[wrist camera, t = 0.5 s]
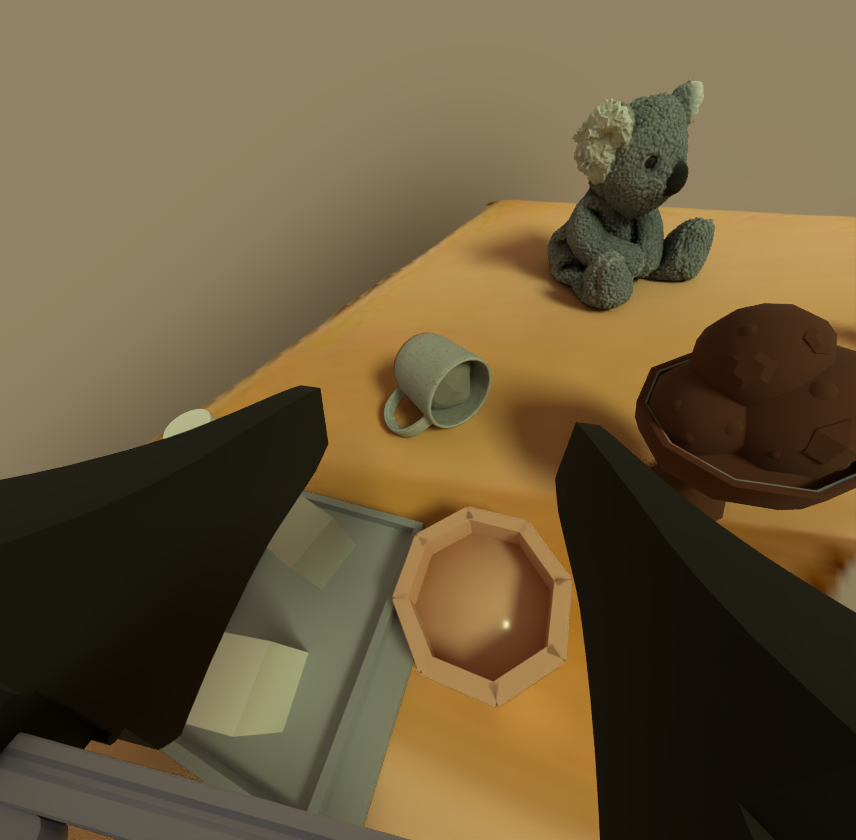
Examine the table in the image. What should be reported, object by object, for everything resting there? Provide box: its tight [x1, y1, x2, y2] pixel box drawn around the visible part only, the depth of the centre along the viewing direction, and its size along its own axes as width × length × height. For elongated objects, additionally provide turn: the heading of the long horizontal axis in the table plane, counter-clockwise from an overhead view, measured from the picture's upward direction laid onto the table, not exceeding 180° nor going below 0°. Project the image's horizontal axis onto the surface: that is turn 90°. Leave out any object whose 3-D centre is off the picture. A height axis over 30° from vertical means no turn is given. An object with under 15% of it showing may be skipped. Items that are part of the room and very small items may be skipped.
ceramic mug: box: [384, 333, 492, 437], centre depth 34 cm, size 11×8×8 cm
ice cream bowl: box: [635, 303, 856, 521], centre depth 20 cm, size 11×11×15 cm
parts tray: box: [159, 490, 426, 827], centre depth 24 cm, size 17×17×2 cm
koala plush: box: [548, 79, 715, 310], centre depth 41 cm, size 17×18×20 cm
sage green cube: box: [186, 632, 308, 737], centre depth 20 cm, size 4×4×5 cm
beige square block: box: [267, 495, 357, 589], centre depth 25 cm, size 4×4×5 cm
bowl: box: [392, 506, 572, 707], centre depth 22 cm, size 11×11×3 cm
